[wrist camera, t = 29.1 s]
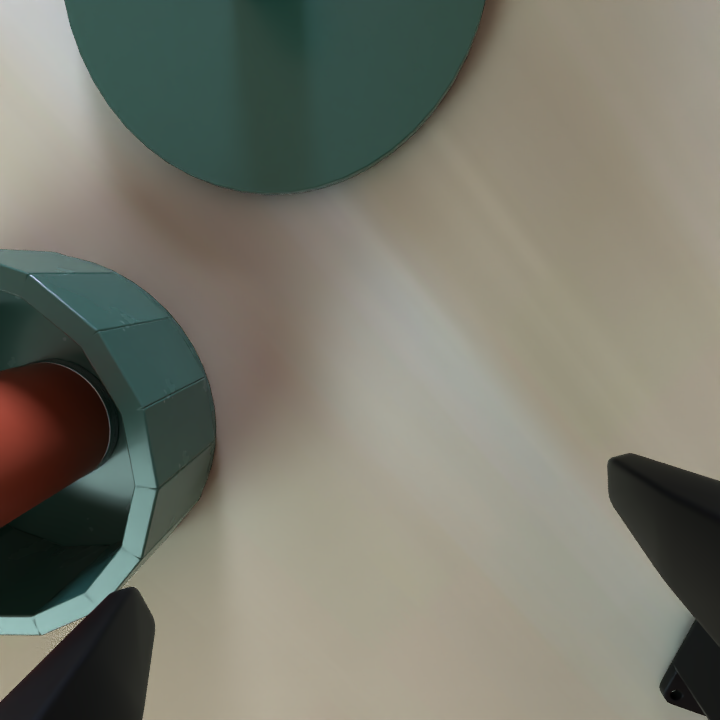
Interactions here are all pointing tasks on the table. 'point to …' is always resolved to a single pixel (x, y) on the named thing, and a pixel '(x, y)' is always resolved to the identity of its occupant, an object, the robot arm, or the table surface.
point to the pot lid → (273, 81)
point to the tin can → (50, 431)
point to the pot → (133, 446)
